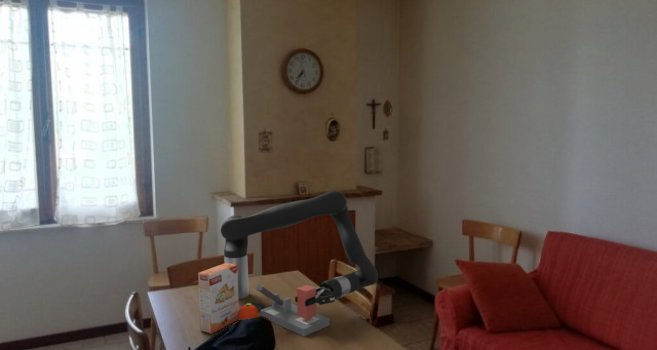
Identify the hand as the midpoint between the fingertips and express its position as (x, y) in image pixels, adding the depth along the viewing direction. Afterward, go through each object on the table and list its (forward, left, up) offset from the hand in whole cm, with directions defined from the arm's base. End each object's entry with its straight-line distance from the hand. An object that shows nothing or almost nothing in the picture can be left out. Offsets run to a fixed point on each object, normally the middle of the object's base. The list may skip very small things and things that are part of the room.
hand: (300, 301), depth 168 cm
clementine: (-20, -3, -10) cm, 22 cm away
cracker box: (-28, -9, -10) cm, 31 cm away
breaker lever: (-12, +7, -5) cm, 15 cm away
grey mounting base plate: (-6, +5, -10) cm, 12 cm away
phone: (-26, +5, -10) cm, 28 cm away
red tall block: (+1, +3, -6) cm, 7 cm away
